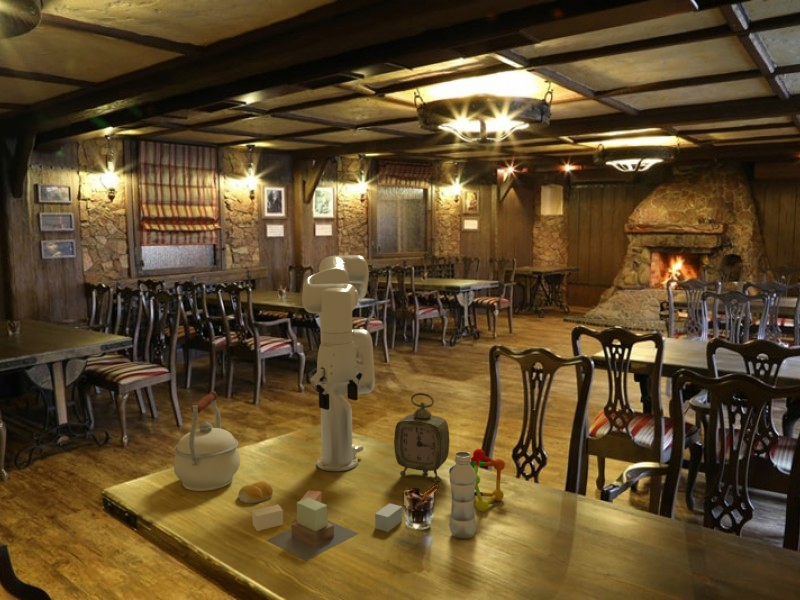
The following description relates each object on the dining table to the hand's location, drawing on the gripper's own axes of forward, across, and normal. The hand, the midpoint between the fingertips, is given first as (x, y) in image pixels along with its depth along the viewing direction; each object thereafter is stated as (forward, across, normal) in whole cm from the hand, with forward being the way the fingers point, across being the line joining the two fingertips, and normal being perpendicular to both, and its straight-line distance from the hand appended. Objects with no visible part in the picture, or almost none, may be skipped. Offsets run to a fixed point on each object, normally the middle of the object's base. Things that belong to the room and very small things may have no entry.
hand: (338, 403), depth 161 cm
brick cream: (+28, +19, -6) cm, 34 cm away
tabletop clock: (+29, -31, +2) cm, 43 cm away
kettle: (+30, +12, -44) cm, 54 cm away
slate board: (+28, +16, +8) cm, 33 cm away
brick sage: (+24, +16, +7) cm, 29 cm away
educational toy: (+29, -26, +24) cm, 46 cm away
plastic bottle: (+28, -10, +32) cm, 44 cm away
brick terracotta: (+29, +7, -4) cm, 30 cm away
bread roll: (+29, +10, -23) cm, 39 cm away
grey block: (+28, 0, +17) cm, 33 cm away
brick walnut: (+27, +16, +7) cm, 32 cm away
